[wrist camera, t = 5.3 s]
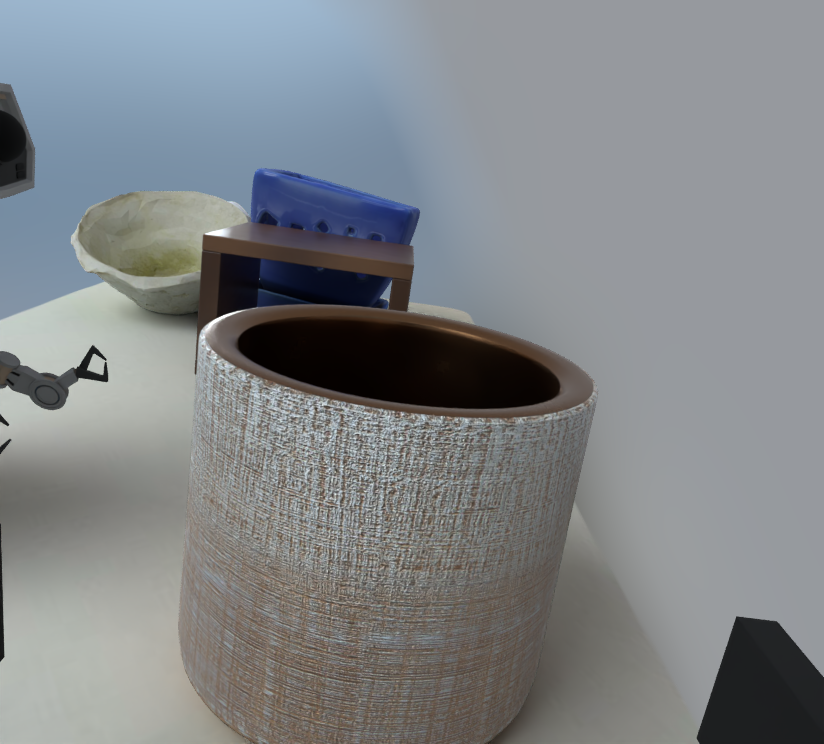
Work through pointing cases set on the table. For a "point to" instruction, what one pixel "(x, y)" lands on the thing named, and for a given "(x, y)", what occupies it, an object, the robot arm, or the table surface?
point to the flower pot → (328, 213)
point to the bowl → (153, 244)
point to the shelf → (250, 242)
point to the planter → (374, 522)
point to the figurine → (3, 177)
